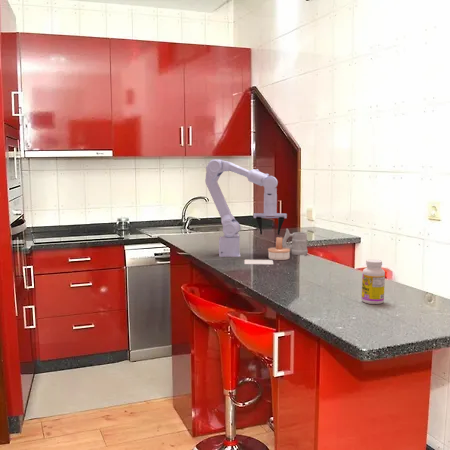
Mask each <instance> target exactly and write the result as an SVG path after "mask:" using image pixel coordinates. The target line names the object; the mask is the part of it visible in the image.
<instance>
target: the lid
mask: <svg viewBox="0 0 450 450" xmlns="http://www.w3.org/2000/svg"><path fill="white" fill-rule="evenodd" d="M283 239H284V237H282V236H277V237H275V246H274V247H273V246H272V247H268V248H267V251H268V253H269V252H272V253H288V252H290V253H291V249H289V248H284V247H283V243H282V241H283Z"/></svg>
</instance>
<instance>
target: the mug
mask: <svg viewBox="0 0 450 450" xmlns="http://www.w3.org/2000/svg"><path fill="white" fill-rule="evenodd" d="M290 237H292V239H291V244H290V245H288V244H287V240H288V239H289V238H290ZM307 237H308V234H307V232H303V231H301V232H298V231H297V232H292V233H290V230H289V229H288V228H286V229H285V234H284V237H283V239H282V247H284V248H289V249H290V253H291V255H293V256H294V255H297V256H307V255H308V251H309V250H308V238H307Z"/></svg>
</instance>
